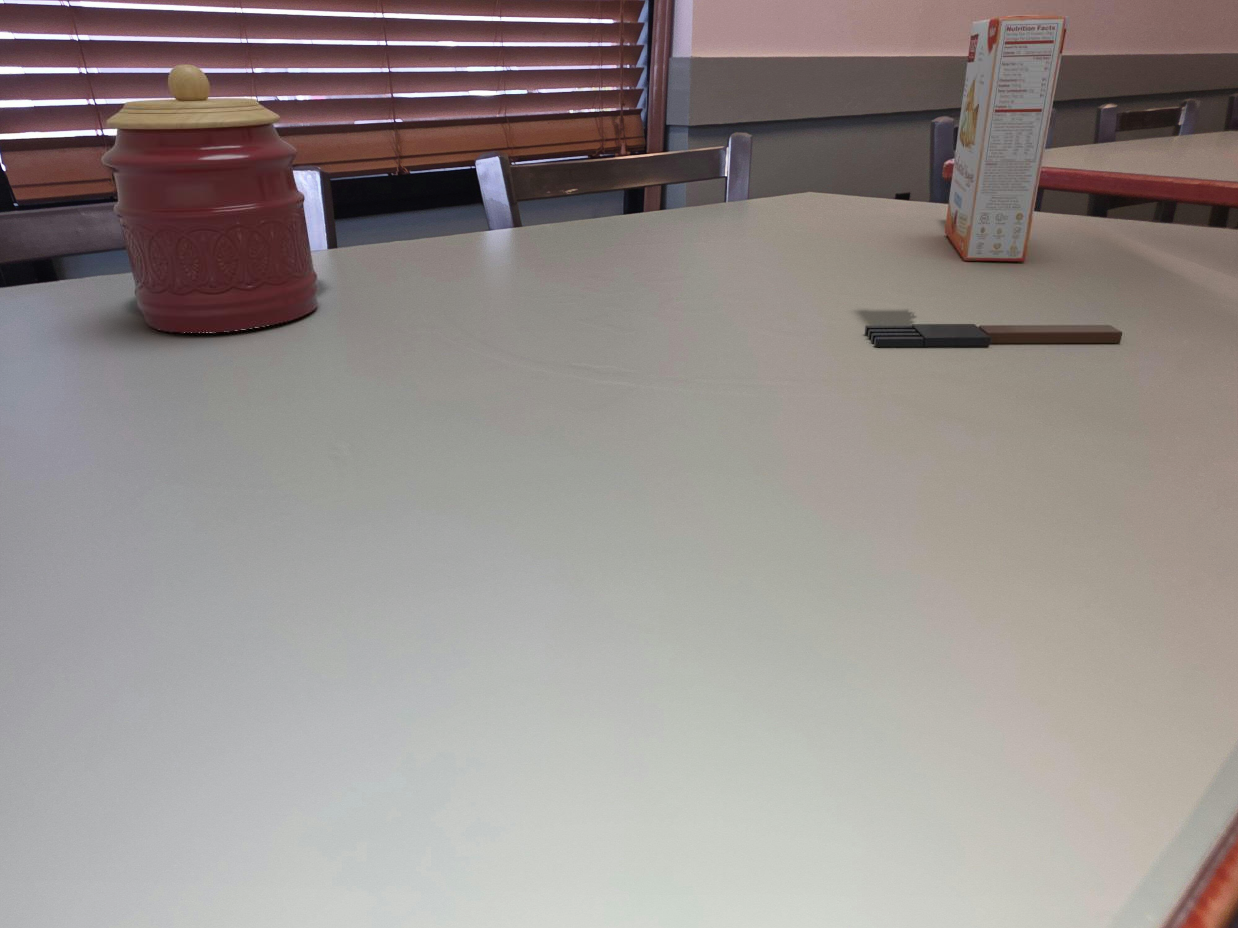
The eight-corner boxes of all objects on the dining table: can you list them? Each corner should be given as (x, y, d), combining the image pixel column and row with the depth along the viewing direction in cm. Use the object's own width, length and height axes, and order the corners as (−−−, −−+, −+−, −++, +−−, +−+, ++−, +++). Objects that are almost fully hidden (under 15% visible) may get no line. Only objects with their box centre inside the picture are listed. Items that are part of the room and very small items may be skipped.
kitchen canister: (263, 342, 61) (210, 64, 53) (101, 333, 63) (29, 66, 56) (351, 296, 72) (318, 63, 65) (212, 290, 75) (164, 65, 67)
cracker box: (940, 235, 95) (970, 19, 86) (998, 236, 93) (1036, 18, 85) (958, 262, 82) (996, 13, 73) (1026, 264, 81) (1073, 12, 72)
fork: (1102, 333, 61) (1105, 321, 60) (1125, 346, 58) (1128, 335, 57) (864, 333, 61) (865, 322, 61) (875, 347, 58) (876, 335, 58)
